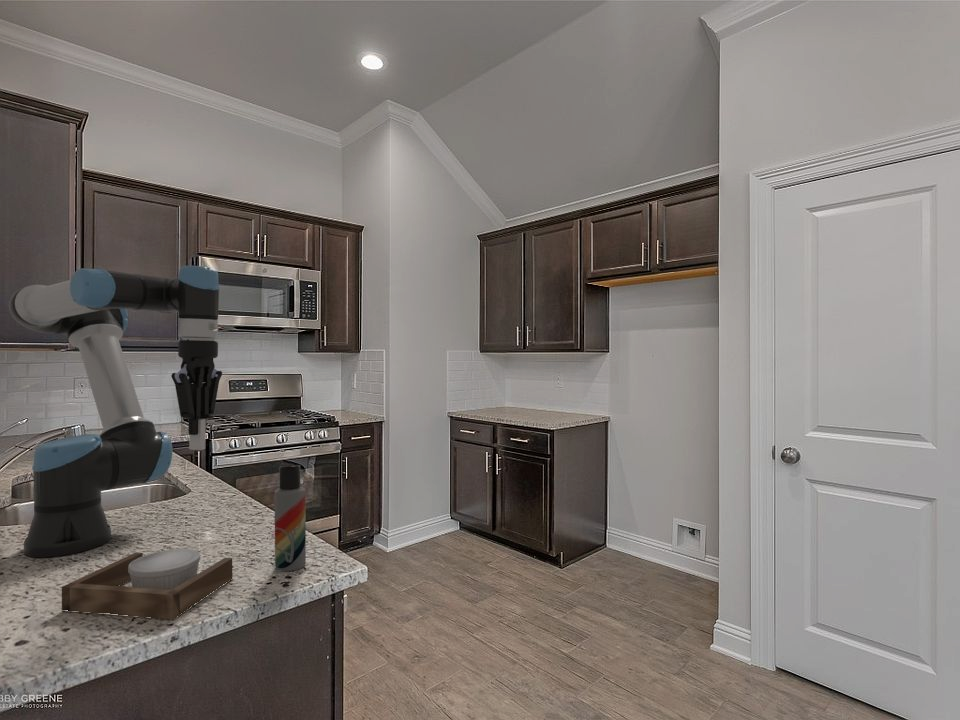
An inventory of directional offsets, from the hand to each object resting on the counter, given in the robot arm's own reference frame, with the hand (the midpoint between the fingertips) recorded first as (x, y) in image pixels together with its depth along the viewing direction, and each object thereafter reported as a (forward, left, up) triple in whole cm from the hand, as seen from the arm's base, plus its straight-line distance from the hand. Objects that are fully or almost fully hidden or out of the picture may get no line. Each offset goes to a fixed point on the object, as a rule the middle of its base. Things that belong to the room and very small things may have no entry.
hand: (197, 449), depth 115 cm
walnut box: (+7, -22, -21) cm, 31 cm away
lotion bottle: (+25, -7, -22) cm, 34 cm away
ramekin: (+8, -19, -22) cm, 30 cm away
